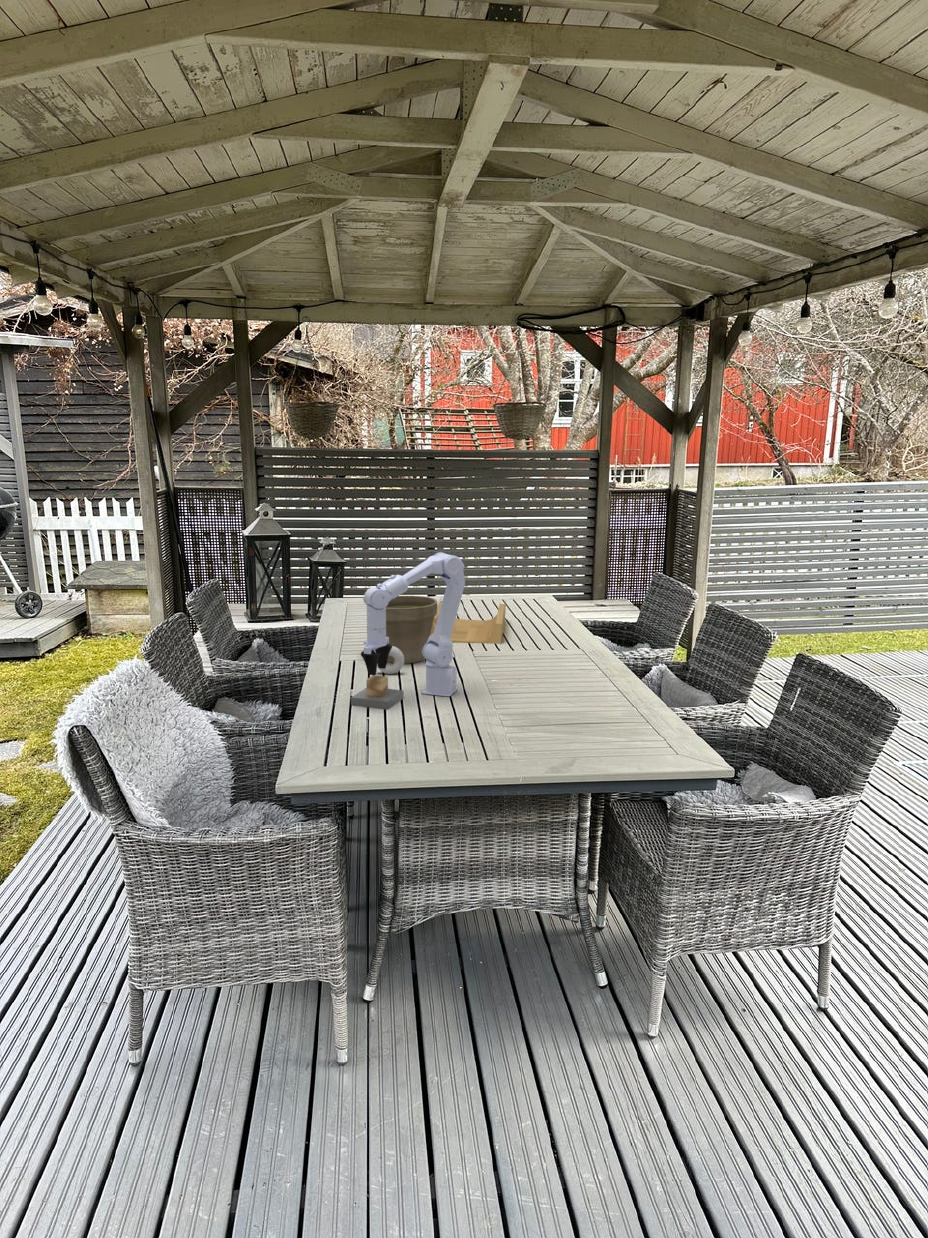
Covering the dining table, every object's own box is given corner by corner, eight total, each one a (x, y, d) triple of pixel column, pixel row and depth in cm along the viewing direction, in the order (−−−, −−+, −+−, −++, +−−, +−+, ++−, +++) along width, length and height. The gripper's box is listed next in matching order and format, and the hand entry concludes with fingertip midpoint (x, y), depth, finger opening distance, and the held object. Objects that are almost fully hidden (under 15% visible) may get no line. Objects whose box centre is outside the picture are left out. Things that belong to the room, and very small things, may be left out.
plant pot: (355, 662, 286) (354, 603, 281) (392, 647, 307) (392, 592, 303) (415, 671, 275) (414, 610, 270) (449, 655, 296) (449, 598, 291)
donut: (374, 675, 270) (374, 646, 268) (376, 672, 273) (375, 644, 271) (404, 675, 270) (403, 647, 267) (405, 672, 273) (404, 644, 271)
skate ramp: (501, 647, 315) (503, 607, 311) (412, 642, 317) (413, 602, 314) (504, 625, 354) (506, 589, 350) (426, 620, 356) (427, 585, 353)
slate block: (403, 699, 246) (403, 690, 245) (387, 711, 235) (387, 701, 234) (368, 695, 250) (368, 686, 249) (351, 706, 238) (351, 697, 238)
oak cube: (388, 692, 243) (387, 676, 242) (382, 697, 238) (381, 681, 237) (372, 690, 244) (372, 675, 243) (366, 695, 240) (366, 679, 239)
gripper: (373, 621, 245) (374, 664, 248) (354, 632, 232) (355, 676, 235) (395, 623, 243) (395, 666, 246) (376, 633, 230) (377, 678, 233)
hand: (377, 671), depth 240 cm, fingers open, 7 cm apart
